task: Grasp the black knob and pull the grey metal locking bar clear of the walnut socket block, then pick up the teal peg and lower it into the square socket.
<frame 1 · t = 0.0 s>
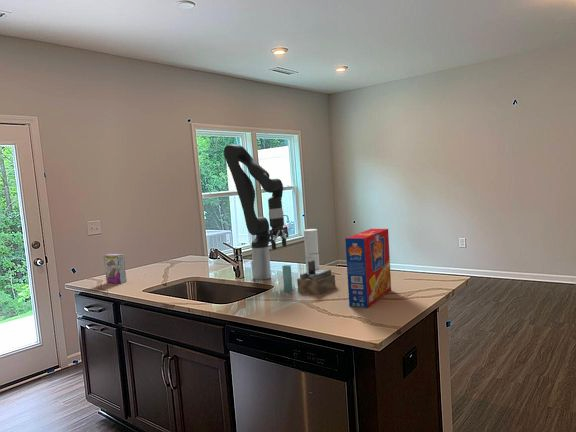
hand: (279, 247, 232), 17 cm above the countertop, tool pointing down, fingers open, 8 cm apart
candy bar box: (116, 283, 256), on the countertop
socket block: (316, 289, 210), on the countertop
teal peg: (288, 290, 210), on the countertop
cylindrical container: (313, 276, 238), on the countertop
pasta box: (371, 298, 189), on the countertop
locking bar: (316, 267, 210), point 10 cm above the countertop, slide at 0.0 cm
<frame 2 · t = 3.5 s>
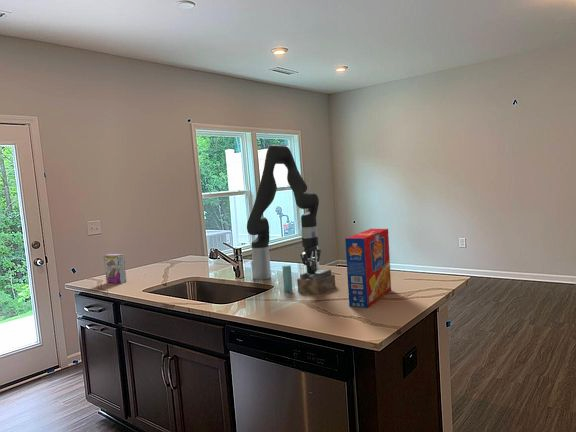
hand: (312, 272, 207), 9 cm above the countertop, tool pointing down, fingers closed on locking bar, 3 cm apart
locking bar: (316, 267, 210), point 10 cm above the countertop, slide at 0.0 cm, touching gripper
everything else where it was.
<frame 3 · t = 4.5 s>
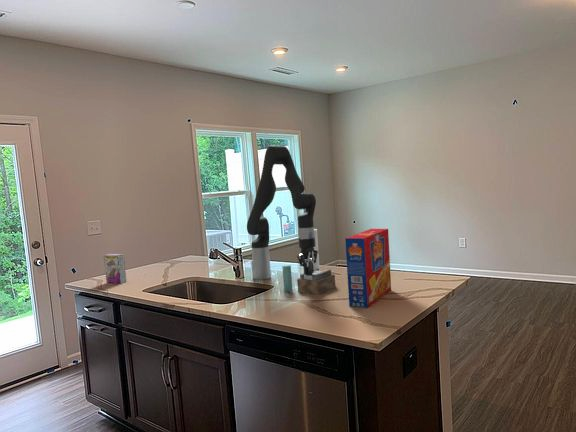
hand: (308, 273, 205), 9 cm above the countertop, tool pointing down, fingers closed on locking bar, 3 cm apart
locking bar: (313, 268, 208), point 10 cm above the countertop, slide at 2.5 cm, touching gripper
everything else where it was.
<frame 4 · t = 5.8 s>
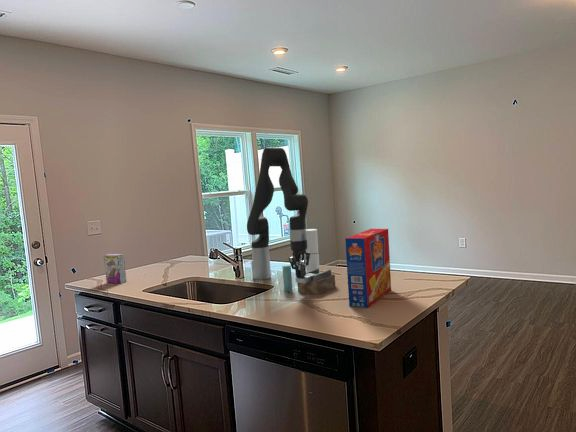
hand: (301, 276, 200), 9 cm above the countertop, tool pointing down, fingers closed on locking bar, 3 cm apart
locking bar: (305, 271, 203), point 10 cm above the countertop, slide at 8.9 cm, touching gripper
everything else where it was.
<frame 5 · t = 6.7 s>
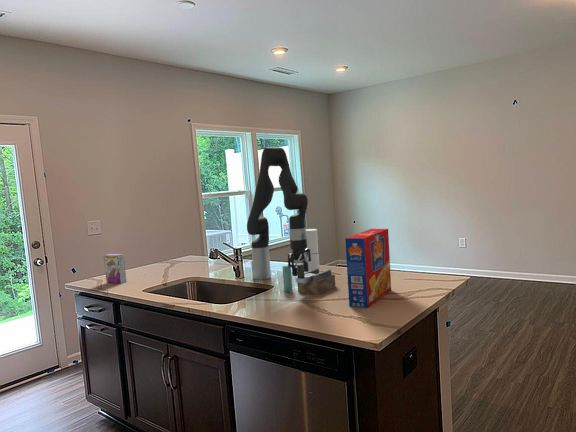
hand: (300, 273, 200), 10 cm above the countertop, tool pointing down, fingers open, 8 cm apart
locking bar: (305, 271, 203), point 10 cm above the countertop, slide at 8.9 cm
everything else where it was.
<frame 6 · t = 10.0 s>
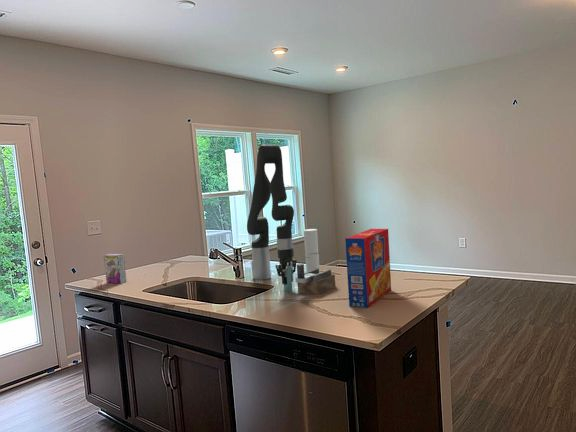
hand: (287, 283, 210), 4 cm above the countertop, tool pointing down, fingers closed on teal peg, 4 cm apart
teal peg: (288, 290, 210), on the countertop, touching gripper
everything else where it was.
when the fingers open (7 cm above the countertop, at t = 15.7 s): teal peg drops 3 cm, resting in socket block.
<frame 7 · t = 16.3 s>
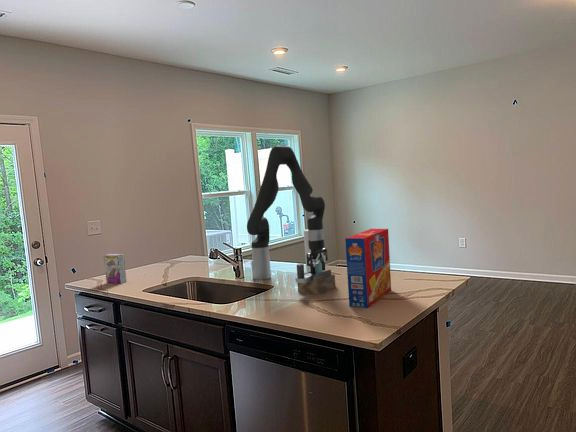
hand: (318, 272, 211), 8 cm above the countertop, tool pointing down, fingers open, 8 cm apart
teal peg: (319, 288, 212), resting in socket block
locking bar: (305, 271, 203), point 10 cm above the countertop, slide at 9.0 cm, touching gripper
everything else where it was.
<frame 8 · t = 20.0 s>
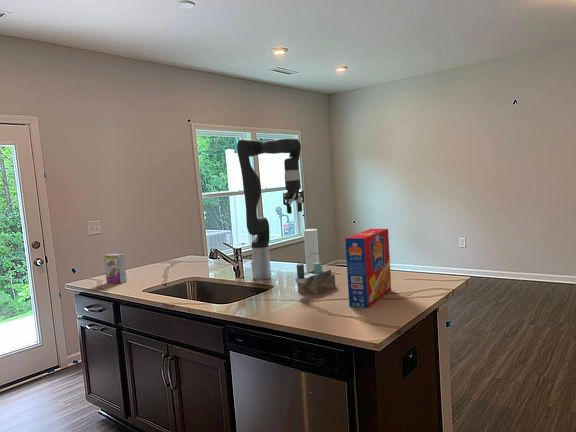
hand: (294, 212, 218), 36 cm above the countertop, tool pointing down, fingers open, 8 cm apart
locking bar: (305, 271, 203), point 10 cm above the countertop, slide at 9.0 cm
everything else where it was.
at the end: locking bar slide at 9.0 cm; teal peg 0.1 cm from the target spot on the socket block, point 0.0 cm above the socket block's base; the gripper is holding nothing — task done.
